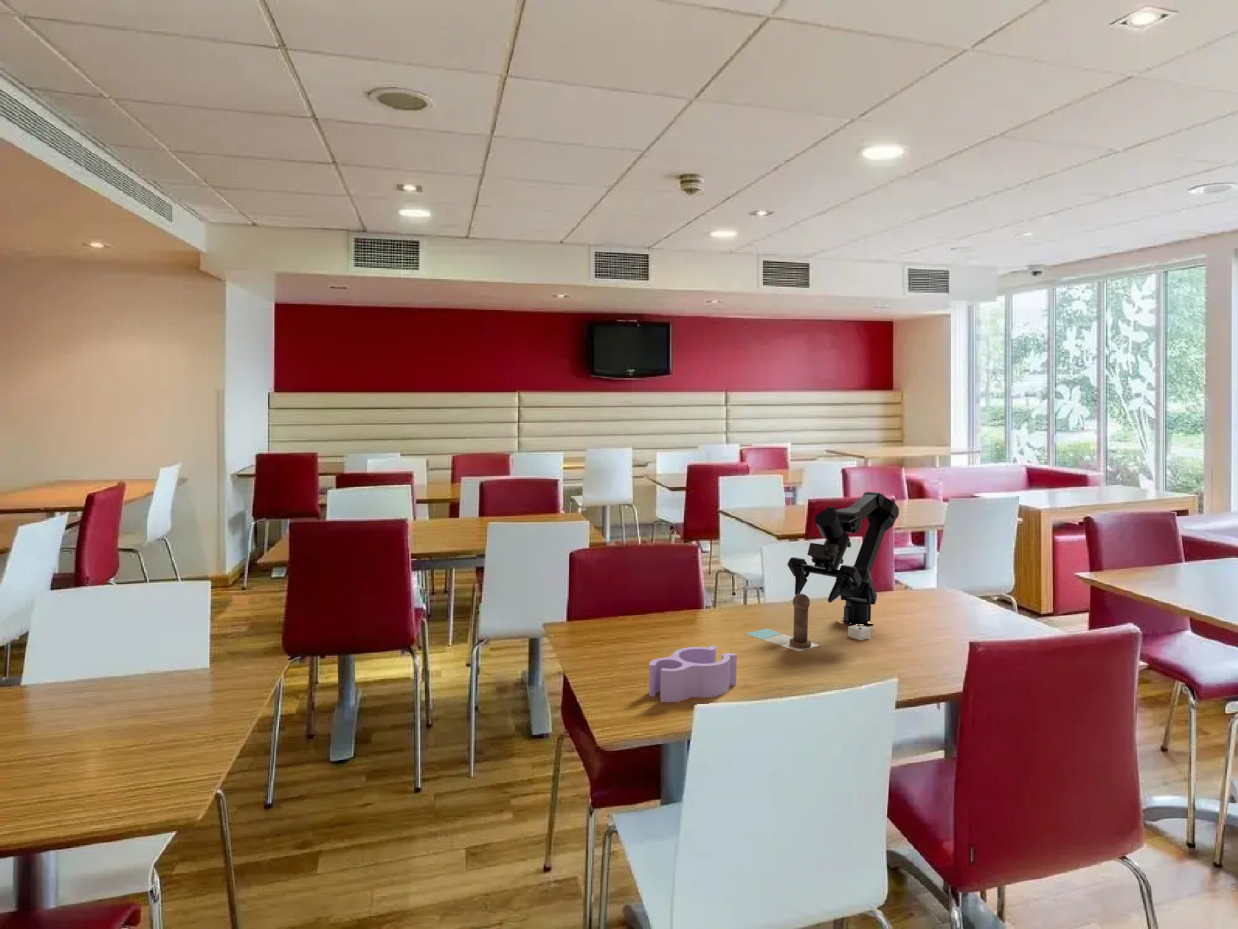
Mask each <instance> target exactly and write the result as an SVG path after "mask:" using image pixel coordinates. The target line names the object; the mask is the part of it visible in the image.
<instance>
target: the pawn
mask: <svg viewBox="0 0 1238 929" xmlns="http://www.w3.org/2000/svg"><path fill="white" fill-rule="evenodd" d="M810 604H811V600H810V597H808V596H807V595H806V594H804V593H800V594H797V595H795V596H793V598H792V605H793V636H792V637H793V638H791V639H790V646H792V647H794V648H799V649H806V648H809V649H811V648H810V647H811V643H812V640H811V639H809V638H808V630H809V629H808V628H809V626H808V623H809V608H810ZM806 650H807V649H806Z"/></svg>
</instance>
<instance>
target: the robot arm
mask: <svg viewBox="0 0 1238 929" xmlns="http://www.w3.org/2000/svg"><path fill="white" fill-rule="evenodd" d="M899 514H900V508H899V506H898V505H897V504H896V502H895V501H894V500H891V499H890V498H888V497H886V496H885V495H884V494H883V493H882V492H876V491H875V492H874V491H866V492H864V493H863V495H862V496H860V498H859V499H857V500H856V501H855V502H854V503H852V504H851V505H850V506H849V507H845V508H844V507H843V508H839V509H836V508H835V507H831V506H827V507H826V509H824V510H822V511H820V512H818V513H817V514H816V515H815V517H814V522H815V524H816V527H817V529H818V530H819V533H820V534H821V536H822V538H824V539H825V541H824V543H822V544H821V543H813V542H810V543H809V546H808V551H807V554H806V555H807V556H809V557H811V562H812V563H814V565H812V564H809V563H808V562H807V561H806V559H805V558H800V557H795V556H793V557H790V559H789V560H788V562H787V567H788V569H789V570H790V572H791V574H792V575H793V577H794V578H795V582H794V595H795V596H796V595H797V594H801V592H802V590H803V588H804V587H805V586H806V583H808V579H807V578H809V576H810V574H817V575H822V576H826V577H833V578H835V581H834V584H833V587H832V589H831V591H830V593H829V594H828V598H827V602H828V603H830V604H831V603H832V602H834V601H835V600H836V599H837V598H838V597H840V600H841V601H845V605H844V606H843V617H842V619H844V620H845V621H847V622H849V623H851V624H853V625H856V624H868V623H867V622H868V621H871V619H872V618H871V616H872V615H871V614H872V613H871V612H872V605H876V603H877V598H878V595H877V594H878V593H877V592H876V590H875V588H874V580H873V577H872V574H871V573H872V570H873V567H874V565H875V564H874V563H875V561H876V558H877V555H878V552H879V549H880V547H881V544H882V541H883V538H884V535H885V533H886V531H888V530H889V529H890V528H892V527H893V526H894V525H895V522H896V520H897V519H898V518H899ZM866 518H867V522H868V526H867V528H866V531H865V535H864V537H863V539H862V542H861V545H860V548H859V550H858V554H857V557H856V558H855V559H856V560H855V563H854V564H853V565H846V564H845V565H844V559H843V557H844V555H845V553H846V550H847V548H851V547H852V542H851V541H850V540H851V539H850V536H849V534H857V533H858V532H859V530H860V529H861V528H862V527H863V520H864V519H866ZM840 564H841V565H840ZM842 619H841V620H842ZM845 621H844V622H845ZM847 622H846V623H847ZM871 622H872V621H871ZM849 623H848V624H849ZM851 624H850V625H851ZM853 625H852V626H853Z"/></svg>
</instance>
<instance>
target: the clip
mask: <svg viewBox="0 0 1238 929" xmlns="http://www.w3.org/2000/svg"><path fill="white" fill-rule="evenodd" d="M737 655H738V654H737V653H733V652H729V653H728V652H727V653H726V652H724V653H721V660H718V661H717V645H710V646H709V647H707V646H691V647H689V646H688V647H683V648H679V649H677V650H675V651H673V653H672V654H671V655H670V656H664V657H658V658H654V659H652V660H651V661H650V662H649V664H648V670H649V671H648V674H649V675H648V697H650V696H651V697H650V698H652V697H653V698H654V696H655V697H656V696H657V693H660V695H659V697H660V698H659V699H660V701H661V702H660V701H659V702H660V703H662V702H678V701H682V700H685V699H686V700H688V699H690V698H691V697H692V698H714V697H720V696H722V694H723V695H725V694H727V693H728V692H729V691H730V686H733V687H734V686H736V685H737V661H738V660H737V658H738V656H737ZM659 691H660V692H659ZM724 693H725V694H724ZM719 695H720V696H719ZM686 700H685V701H686ZM682 702H683V701H682ZM678 703H679V702H678Z"/></svg>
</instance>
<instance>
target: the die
mask: <svg viewBox="0 0 1238 929" xmlns="http://www.w3.org/2000/svg"><path fill="white" fill-rule="evenodd" d="M871 635H872V628H871V627H869V626H867V625H859V624H858V625H850V626H847V636H848V637H850V638H852V639H855V640H858V641H863V640H867V639H868V640H871V638H872V637H871Z"/></svg>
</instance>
